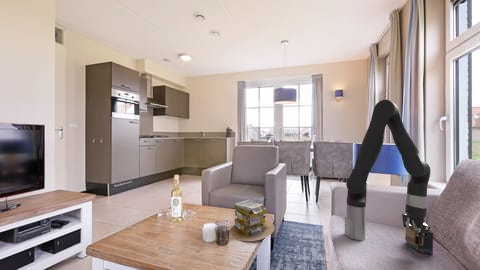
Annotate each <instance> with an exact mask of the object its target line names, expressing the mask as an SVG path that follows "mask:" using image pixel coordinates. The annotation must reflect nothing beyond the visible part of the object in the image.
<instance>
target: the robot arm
mask: <svg viewBox="0 0 480 270" xmlns="http://www.w3.org/2000/svg"><path fill="white" fill-rule="evenodd" d="M386 126H388V128H389V131H390V134H391V135H392V140H393V143H394V145H395V147H396V148H397V150H398V152H399V154H400V157H401V160H402V161H401V162H402V164H403V167H404V169H405V171H406V173H407V174H409V175H410V180H409V181H408V182H407V187H406V196H405V213H406V214H405V213H404V214H403V213H402V214H401V218H402V226H403V228H405V229H406V227H408V228H414V230H415V232H416V241H415V243H416V244H417V245H421V244H422V237H427V236H428V233H429V230H430V231H431V226H430V225H428V224H426V222H425V218H426V217H427V212H428V186H429V181H430V177H431V167H430V165H429V164H428V163H427V162H425V161H423V160H421V159H420V157H419V148H418V147H417V145H416V143H415V142H414V140H413V138H412V137H411V135H410V133H409V132H408V130H407V128H406V126H405V124H404V122H403V119H402V116H401V114H400V110H399V107H398V105H397V104H395V102H394V101H391V100H389V99H381V100H379V101H377V103H376V104H375V106H374V108H373V110H372V115H371V119H370V122H369V124H368V128H367V130H366V131H365V135H364V137H363V139H362V142H361V144H360V147H359V149H358V153H357V157H356V160H355V164H354V167H353V169H352V171H351V173H350V175H349V176H348V178H347V181H346V189H347V195H346V215H345V217H344V235H345V236H346V237H347V238H348V239H350V240H351V239H352V240H356V241H365V240H366V225H367V224H366V223H367V222H366V221H367V220H366V219H367V218H366V216H367V215H366V214H367V213H366V212H367V207H366V206H367V186H368V185H367V182H368V178H369V174H370V173H371V170H372V169H373V166H374V165H375V163H376V161H377V159H378V158H379V155H380V154H381V151H382V148H383V145H384V138H385V137H384V136H385V131H386V130H385V129H386ZM417 228H420V229H417ZM418 231H420V234H419V232H418ZM423 233H424V234H423Z"/></svg>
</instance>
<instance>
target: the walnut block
mask: <svg viewBox="0 0 480 270" xmlns="http://www.w3.org/2000/svg"><path fill="white" fill-rule="evenodd" d="M418 232H419V234H420V231H418ZM423 234H424V233H423ZM404 237H405V238H404V241H408V242H409V243H411V244H412V245H417V244H416V243H415V241H416V232H415V230H414V228H408V227H406V228H405V235H404ZM423 238H424V237H422V244H421V245H420V246H423Z"/></svg>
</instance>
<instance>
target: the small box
mask: <svg viewBox="0 0 480 270" xmlns="http://www.w3.org/2000/svg"><path fill="white" fill-rule="evenodd" d="M417 229H420V228H417ZM405 241H406V240H405ZM406 244H408V245H409V246H410V247H411V249H414V250H415V251H416V252H418V253H421V254H427V255H433V253H434V232H433V231H432V230H431V229H430V230H429V233H428V236H427V237H424V238H423V246H420V245H412V244H411V243H409V242H408V241H406Z"/></svg>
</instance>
